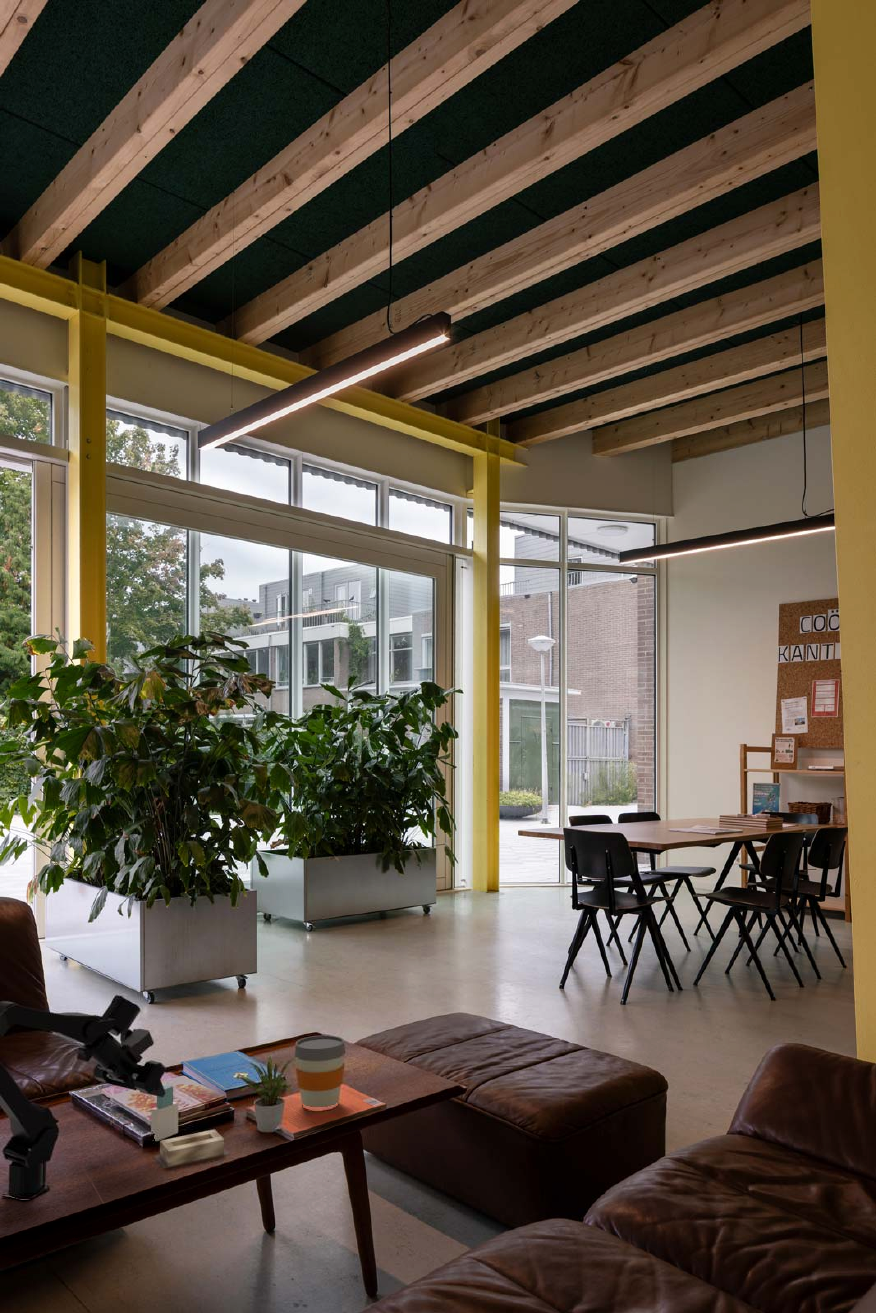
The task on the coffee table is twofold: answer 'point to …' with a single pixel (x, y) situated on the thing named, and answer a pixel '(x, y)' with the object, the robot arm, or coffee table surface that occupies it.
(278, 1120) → the house plant
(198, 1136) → the slot rack
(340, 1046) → the reusable coffee cup
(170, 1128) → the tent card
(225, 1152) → the mat
